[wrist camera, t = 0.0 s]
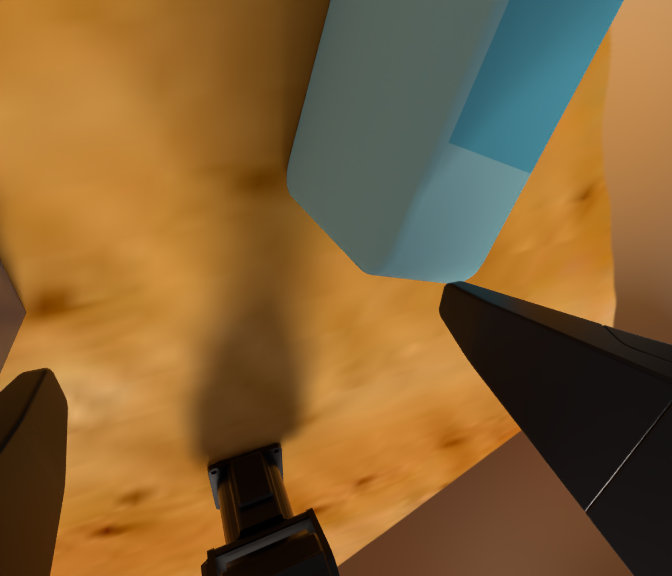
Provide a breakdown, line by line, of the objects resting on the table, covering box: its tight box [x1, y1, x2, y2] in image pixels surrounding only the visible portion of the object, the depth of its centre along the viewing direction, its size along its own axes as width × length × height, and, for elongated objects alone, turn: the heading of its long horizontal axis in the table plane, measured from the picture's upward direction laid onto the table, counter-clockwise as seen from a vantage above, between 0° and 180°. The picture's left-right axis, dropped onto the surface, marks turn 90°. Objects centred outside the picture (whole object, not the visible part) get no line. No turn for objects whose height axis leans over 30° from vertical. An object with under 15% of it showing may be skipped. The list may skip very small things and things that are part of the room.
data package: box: [287, 0, 623, 283], centre depth 16 cm, size 12×4×12 cm, turn 161°
